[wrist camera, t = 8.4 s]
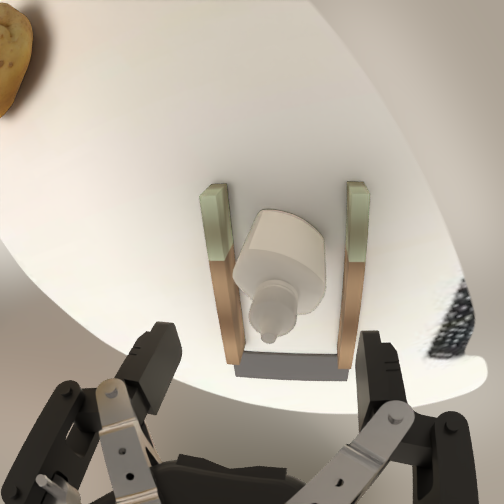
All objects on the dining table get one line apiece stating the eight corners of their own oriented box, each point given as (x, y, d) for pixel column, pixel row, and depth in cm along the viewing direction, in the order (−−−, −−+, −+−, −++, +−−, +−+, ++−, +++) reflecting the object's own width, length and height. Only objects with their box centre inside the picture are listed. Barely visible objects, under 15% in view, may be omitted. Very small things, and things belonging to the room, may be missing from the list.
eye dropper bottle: (289, 189, 24) (270, 273, 13) (331, 246, 25) (338, 356, 15) (244, 220, 26) (195, 315, 15) (286, 272, 27) (266, 385, 17)
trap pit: (232, 350, 32) (231, 352, 32) (351, 354, 30) (351, 356, 30) (236, 374, 34) (235, 376, 34) (346, 378, 32) (346, 381, 32)
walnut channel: (211, 184, 25) (199, 196, 22) (363, 181, 22) (370, 193, 20) (233, 342, 32) (227, 364, 29) (349, 346, 30) (350, 368, 27)
